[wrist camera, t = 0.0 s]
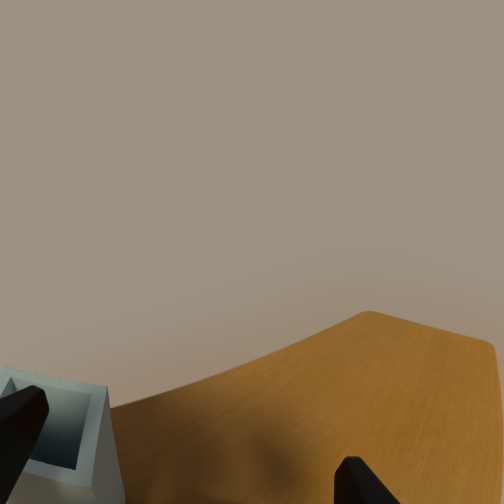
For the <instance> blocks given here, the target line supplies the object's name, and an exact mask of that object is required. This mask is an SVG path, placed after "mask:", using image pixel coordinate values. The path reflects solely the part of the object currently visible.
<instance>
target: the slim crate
mask: <svg viewBox="0 0 504 504" xmlns="http://www.w3.org/2000/svg"><path fill="white" fill-rule="evenodd" d="M30 385H36V386H38V387H40V388H42V389H44V391H45V393H46V397H47V400H48V404H49V414H48V417H47V419H46V421H45V424H44V426H43V428H42V431H41V433H40V436H39V438H38V441H37V443H36V445H35V448H34V450H33V452H32V454H31V456H30V458H29V460H28V461H27V463H26V465H25V467H24V469H23V471H22V473H21V475H20V477H19V478H18V480H17V482H16V484H15V486H14V488H13V490H12V492H11V494H10V496H9V498H8V500H7V502H6V504H126V495H125V491H124V486H123V482H122V477H121V473H120V468H119V462H118V457H117V452H116V446H115V440H114V434H113V427H112V420H111V413H110V405H109V397H108V387H107V386H101V385H94V384H88V383H82V382H76V381H71V380H65V379H60V378H54V377H50V376H46V375H41V374H37V373H32V372H28V371H24V370H19V369H16V368H12V367H8V366H4V367H3V369H2V371H1V373H0V398H2V397H5V396H7V395H10V394H12V393H14V392H16V391H19V390H21V389H23V388H26V387H28V386H30Z"/></svg>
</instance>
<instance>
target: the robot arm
mask: <svg viewBox="0 0 504 504" xmlns="http://www.w3.org/2000/svg"><path fill="white" fill-rule="evenodd" d="M48 414H49V404H48V400H47V397H46V393H45V391H44V389H42V388H40V387H38V386H36V385H30V386H28V387H26V388H23V389H21V390H19V391H16V392H14V393H12V394H10V395H7V396H5V397H2V398H0V504H6V502H7V500H8V498H9V496H10V494H11V492H12V490H13V488H14V486H15V484H16V482H17V480H18V478H19V477H20V475H21V473H22V471H23V469H24V467H25V465H26V463H27V461H28V460H29V458H30V456H31V454H32V452H33V450H34V448H35V445H36V443H37V441H38V438H39V436H40V433H41V431H42V428H43V426H44V424H45V421H46V419H47V417H48ZM334 504H400V503H399V501H398V500H397V499H396V498H395V497H394V496H393V495H392V494H391V492H390V491H389V490H388V489H387V488H386V487H385V486H384V484H383V483H382V482H381V481H380V480H379V479H378V477H377V476H376V475H375V474H374V473H373V472H372V470H371V469H370V468H369V467H368V466H367V465H366V463H365V462H364V461H363V460H362V459H361V458H360V457H357V456H348V457H346V458H345V459H344V460H343V461H342V463H341V464H340V466H339V467H338V469H337V470H336V472H335V476H334Z"/></svg>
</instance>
